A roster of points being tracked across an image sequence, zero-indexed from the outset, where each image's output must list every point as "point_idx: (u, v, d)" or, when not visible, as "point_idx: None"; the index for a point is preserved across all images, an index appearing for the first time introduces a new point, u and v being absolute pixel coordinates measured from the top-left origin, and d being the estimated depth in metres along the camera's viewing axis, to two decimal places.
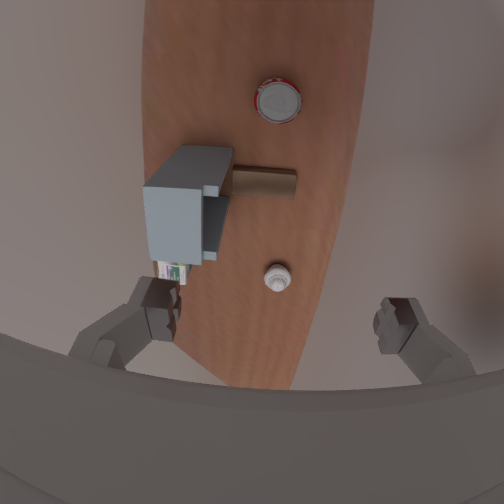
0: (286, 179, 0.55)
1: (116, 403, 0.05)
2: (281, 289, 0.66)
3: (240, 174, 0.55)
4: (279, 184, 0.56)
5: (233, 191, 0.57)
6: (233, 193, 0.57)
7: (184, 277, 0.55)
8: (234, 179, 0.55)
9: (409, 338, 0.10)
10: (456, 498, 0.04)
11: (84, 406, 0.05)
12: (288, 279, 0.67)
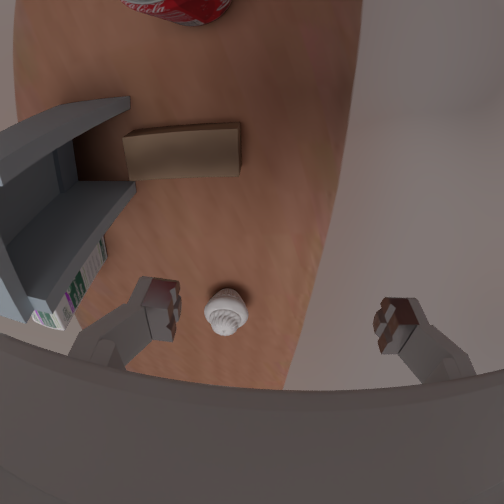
0: (218, 138, 0.27)
1: (116, 403, 0.05)
2: (230, 333, 0.39)
3: (136, 143, 0.27)
4: (207, 150, 0.28)
5: (131, 174, 0.30)
6: (132, 178, 0.30)
7: (58, 320, 0.28)
8: (128, 152, 0.28)
9: (409, 338, 0.10)
10: (456, 498, 0.04)
11: (84, 406, 0.05)
12: (242, 316, 0.40)
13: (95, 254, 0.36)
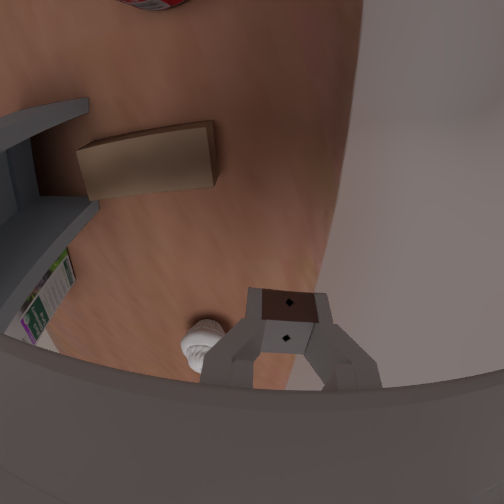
0: (183, 141, 0.21)
1: (116, 403, 0.05)
2: None
3: (90, 155, 0.22)
4: (171, 157, 0.22)
5: (90, 193, 0.24)
6: (91, 198, 0.24)
7: None
8: (83, 167, 0.23)
9: (310, 337, 0.10)
10: (456, 498, 0.04)
11: (84, 406, 0.05)
12: None
13: (59, 278, 0.30)
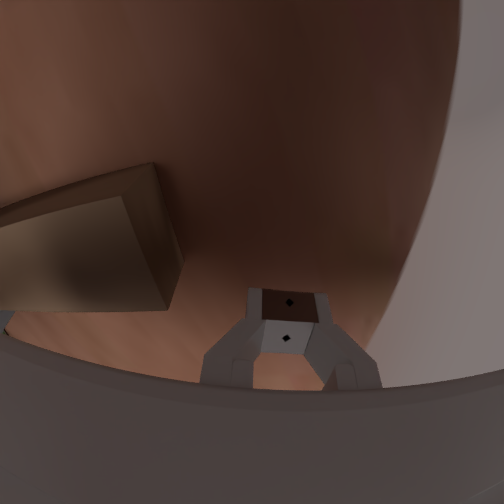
0: (86, 229, 0.09)
1: (116, 403, 0.05)
2: None
3: None
4: (76, 258, 0.10)
5: None
6: (0, 306, 0.13)
7: None
8: None
9: (310, 337, 0.10)
10: (456, 498, 0.04)
11: (84, 406, 0.05)
12: None
13: None
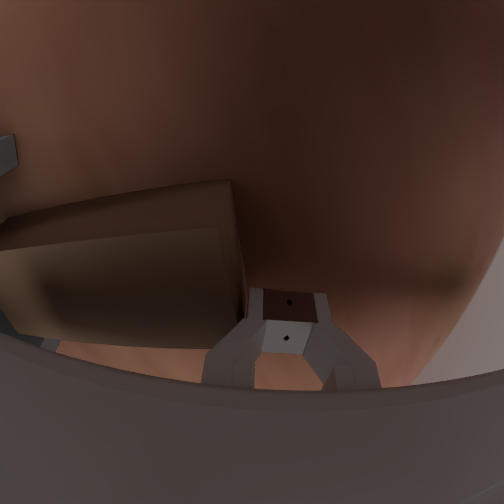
0: (159, 262, 0.08)
1: (116, 403, 0.05)
2: None
3: None
4: (136, 292, 0.09)
5: (14, 324, 0.11)
6: (19, 330, 0.11)
7: None
8: None
9: (309, 337, 0.10)
10: (456, 498, 0.04)
11: (84, 406, 0.05)
12: None
13: None
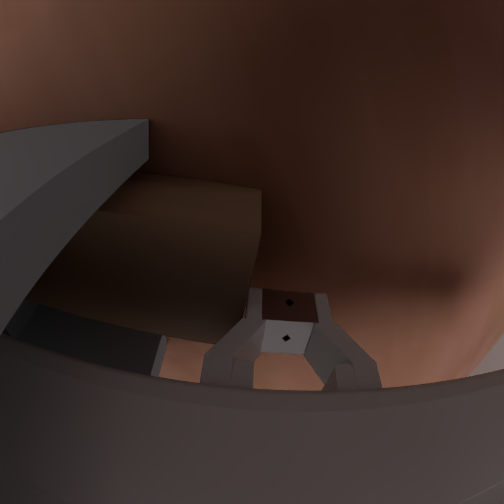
0: (189, 253, 0.08)
1: (116, 403, 0.05)
2: None
3: None
4: (152, 276, 0.09)
5: None
6: None
7: None
8: None
9: (310, 337, 0.10)
10: (456, 498, 0.04)
11: (84, 406, 0.05)
12: None
13: None
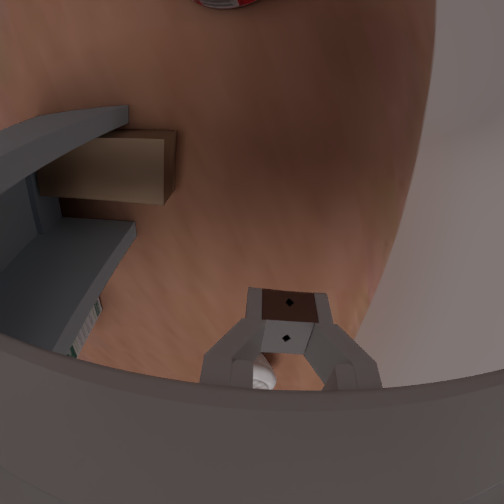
0: (138, 151, 0.19)
1: (116, 403, 0.05)
2: None
3: None
4: (124, 165, 0.19)
5: (41, 188, 0.20)
6: (42, 193, 0.21)
7: None
8: None
9: (310, 337, 0.10)
10: (456, 498, 0.04)
11: (84, 406, 0.05)
12: (270, 384, 0.31)
13: None
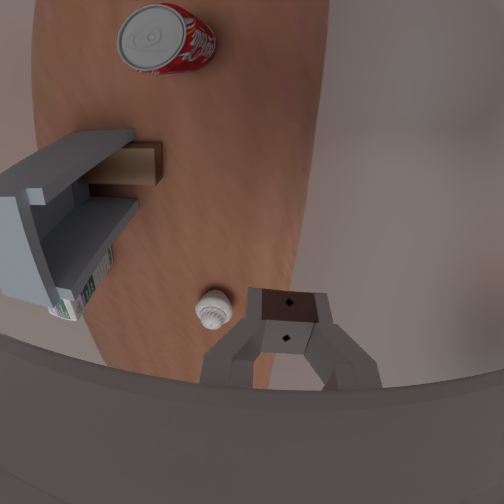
0: (140, 155, 0.34)
1: (116, 403, 0.05)
2: (216, 327, 0.46)
3: None
4: (132, 163, 0.35)
5: (80, 178, 0.36)
6: (81, 181, 0.36)
7: (72, 312, 0.35)
8: None
9: (310, 337, 0.10)
10: (456, 498, 0.04)
11: (84, 406, 0.05)
12: (227, 313, 0.47)
13: (104, 258, 0.43)
